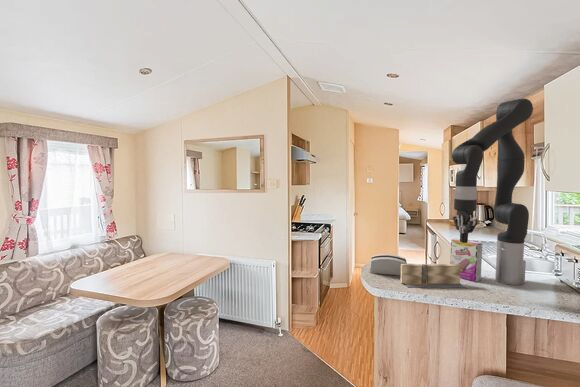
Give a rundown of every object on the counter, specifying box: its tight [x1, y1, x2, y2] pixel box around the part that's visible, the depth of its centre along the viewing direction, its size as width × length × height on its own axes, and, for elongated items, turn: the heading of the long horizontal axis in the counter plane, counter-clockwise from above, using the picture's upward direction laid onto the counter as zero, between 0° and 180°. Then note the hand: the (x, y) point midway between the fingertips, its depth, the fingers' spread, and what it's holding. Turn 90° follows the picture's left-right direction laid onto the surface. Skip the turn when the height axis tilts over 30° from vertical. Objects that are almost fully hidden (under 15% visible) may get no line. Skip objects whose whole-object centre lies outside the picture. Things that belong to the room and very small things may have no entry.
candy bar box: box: [449, 237, 483, 283], centre depth 134 cm, size 11×5×16 cm, turn 34°
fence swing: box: [426, 263, 461, 284], centre depth 126 cm, size 13×2×8 cm, turn 88°
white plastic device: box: [369, 253, 408, 276], centre depth 139 cm, size 17×5×10 cm, turn 69°
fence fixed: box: [400, 263, 427, 284], centre depth 127 cm, size 10×2×8 cm, turn 88°
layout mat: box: [396, 275, 467, 289], centre depth 133 cm, size 23×20×1 cm
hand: (463, 242), depth 119 cm, fingers closed
